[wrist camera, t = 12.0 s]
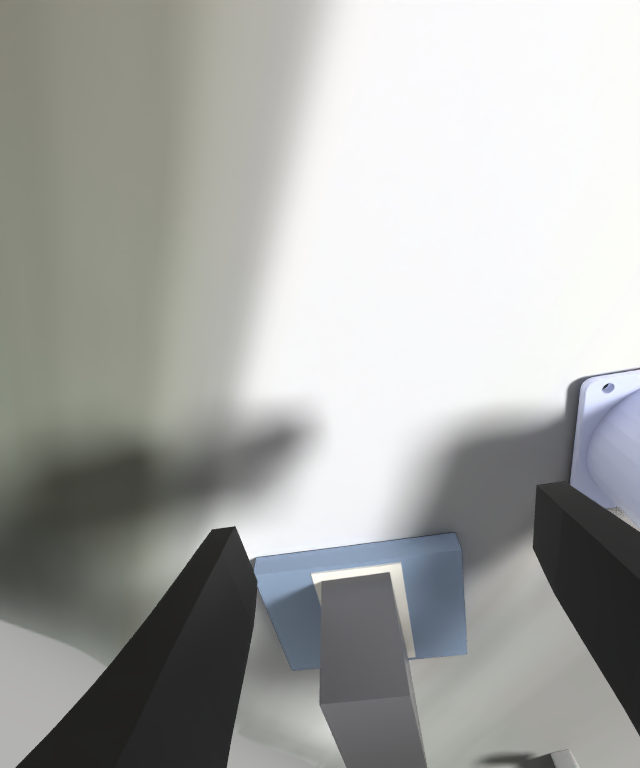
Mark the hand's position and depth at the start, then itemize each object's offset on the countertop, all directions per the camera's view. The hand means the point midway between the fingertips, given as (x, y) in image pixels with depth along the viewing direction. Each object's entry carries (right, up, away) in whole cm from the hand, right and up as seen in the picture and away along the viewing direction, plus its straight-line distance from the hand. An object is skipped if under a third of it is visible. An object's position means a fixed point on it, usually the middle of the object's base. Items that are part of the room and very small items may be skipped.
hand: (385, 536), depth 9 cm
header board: (+1, -10, +15) cm, 19 cm away
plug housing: (+1, -11, +14) cm, 18 cm away
